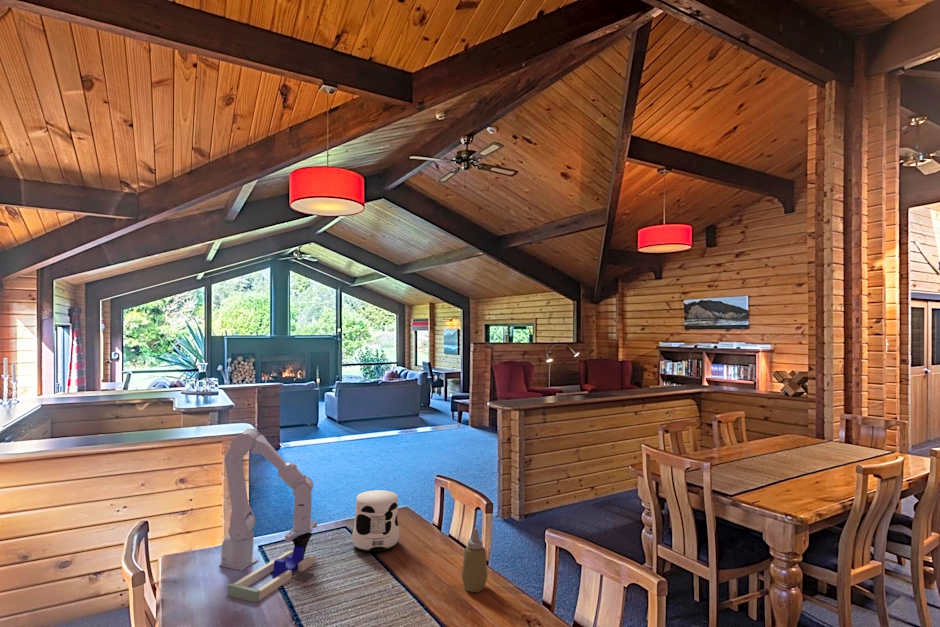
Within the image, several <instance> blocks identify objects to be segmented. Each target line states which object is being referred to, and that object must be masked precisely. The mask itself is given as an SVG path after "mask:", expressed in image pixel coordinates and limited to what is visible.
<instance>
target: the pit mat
mask: <svg viewBox="0 0 940 627" xmlns="http://www.w3.org/2000/svg"><path fill="white" fill-rule="evenodd" d="M314 576H315V573H311V572H308V571H301V572H300V571H299V572H298V573H297V574H296V575H293V576H292V577H291V579H290V580H295V581H298V582H299V581H300V582H304V583H305V582H307V581H308V580H309V579H311V578H312V577H314Z"/></svg>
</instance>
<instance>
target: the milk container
mask: <svg viewBox="0 0 940 627" xmlns="http://www.w3.org/2000/svg"><path fill="white" fill-rule="evenodd" d="M398 499H399V498H398V494H397V493H396V492H393V491H391V490H390V491H389V490H386V489H385V490H384V489H380V490H379V489H377V490H368V491H364V492H361V493H359V494H358V495H356V500H355V508H354V512H355V513H354V516H355V517H354V523H353V526H352V531H351V540H352V544H353V546H354V547H355V548H357V549H358V550H360V551H364V552H382V551H386V550H389V549H391V548H392V547H394V546H395V545H396V544H397V543H398V541H399V537H400V525H399V521H398V512H399V510H398V509H399V507H398V505H399V500H398Z"/></svg>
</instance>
